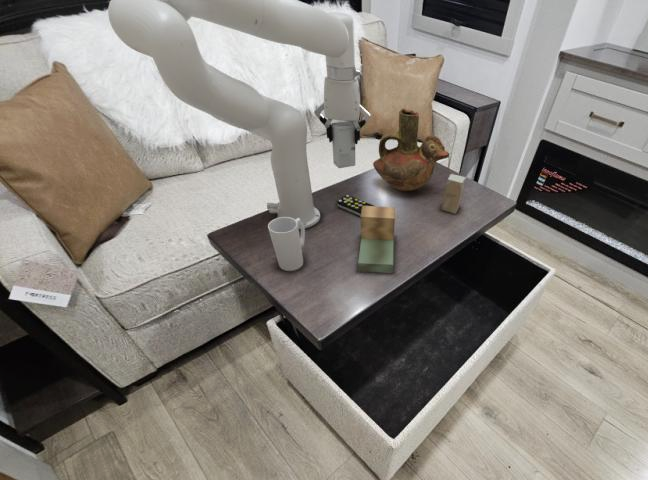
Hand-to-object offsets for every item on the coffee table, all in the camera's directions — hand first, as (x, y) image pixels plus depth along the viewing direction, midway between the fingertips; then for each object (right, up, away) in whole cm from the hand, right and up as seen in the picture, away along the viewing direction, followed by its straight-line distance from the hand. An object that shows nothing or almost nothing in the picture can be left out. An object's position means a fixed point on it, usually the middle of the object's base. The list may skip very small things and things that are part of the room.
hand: (343, 141), depth 103 cm
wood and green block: (+11, -36, -9) cm, 38 cm away
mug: (-11, -38, -13) cm, 42 cm away
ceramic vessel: (+20, -8, +18) cm, 28 cm away
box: (+34, -18, +10) cm, 40 cm away
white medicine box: (-1, -5, +5) cm, 7 cm away
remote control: (+3, -19, +6) cm, 21 cm away
